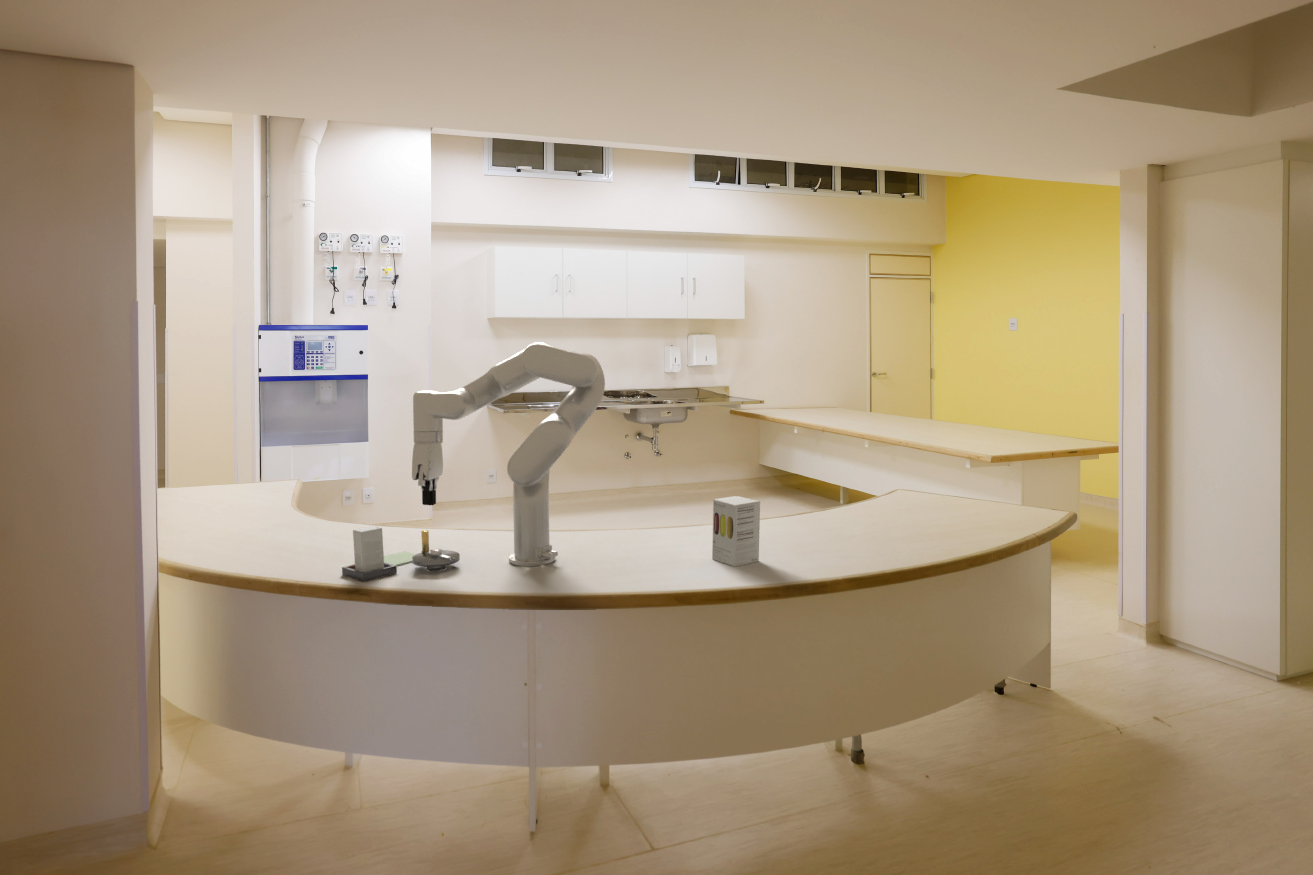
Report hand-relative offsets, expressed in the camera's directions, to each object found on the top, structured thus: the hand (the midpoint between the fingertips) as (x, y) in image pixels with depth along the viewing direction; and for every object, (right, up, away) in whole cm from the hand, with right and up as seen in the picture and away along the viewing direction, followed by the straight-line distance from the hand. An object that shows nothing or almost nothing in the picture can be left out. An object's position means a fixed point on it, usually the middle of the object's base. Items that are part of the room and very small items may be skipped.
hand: (429, 504), depth 222 cm
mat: (-9, -15, +3) cm, 18 cm away
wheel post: (+3, -16, -5) cm, 18 cm away
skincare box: (-12, -17, -10) cm, 24 cm away
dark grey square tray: (-12, -17, -10) cm, 24 cm away
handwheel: (+3, -14, -6) cm, 16 cm away
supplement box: (+83, -16, +3) cm, 84 cm away
